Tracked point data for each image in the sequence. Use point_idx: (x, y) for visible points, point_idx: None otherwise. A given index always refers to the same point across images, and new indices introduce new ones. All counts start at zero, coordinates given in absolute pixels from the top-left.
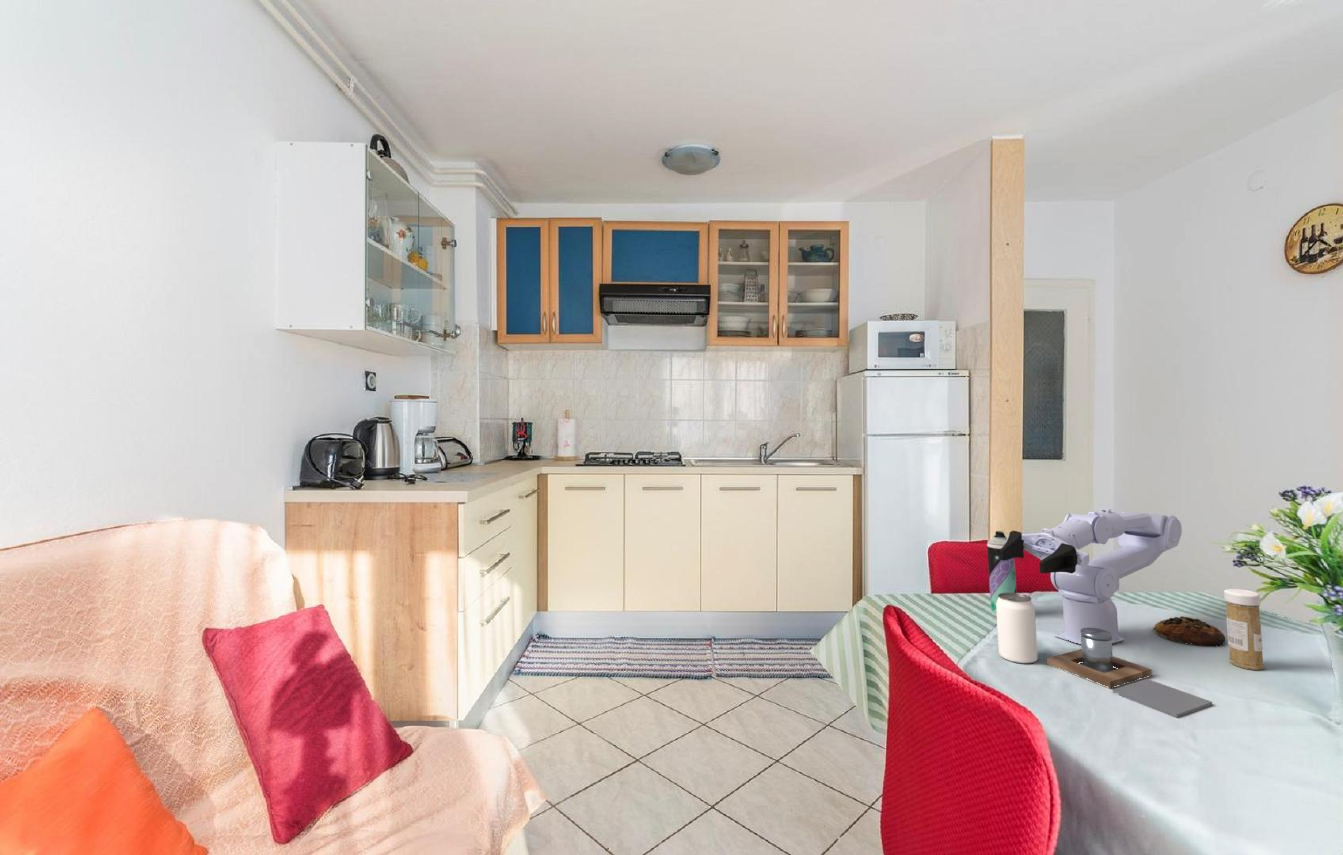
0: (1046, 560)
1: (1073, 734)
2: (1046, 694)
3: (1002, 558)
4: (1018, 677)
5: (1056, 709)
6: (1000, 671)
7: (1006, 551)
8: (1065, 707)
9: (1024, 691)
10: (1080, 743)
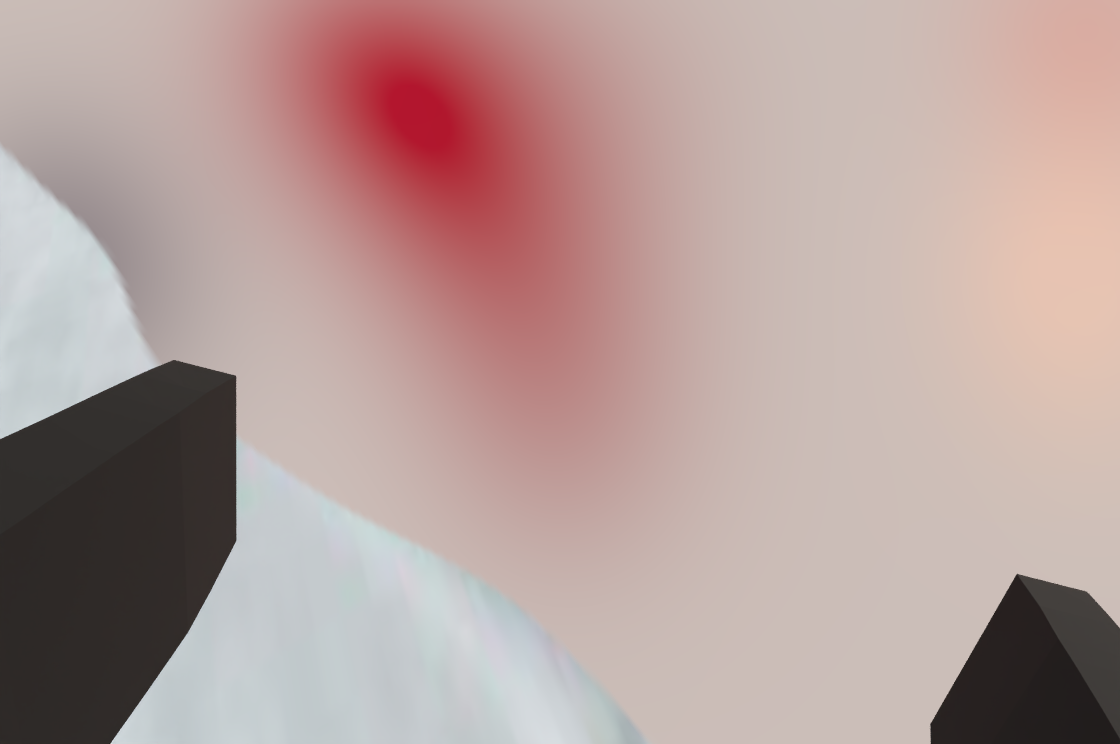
0: (97, 395)
1: (56, 290)
2: None
3: (953, 692)
4: (336, 713)
5: None
6: (448, 741)
7: (1026, 724)
8: None
9: (276, 550)
10: (36, 249)
